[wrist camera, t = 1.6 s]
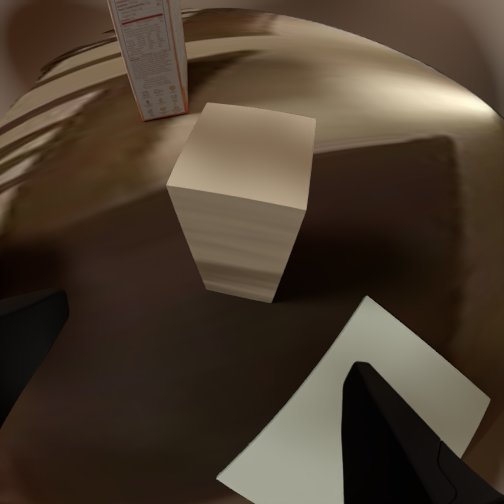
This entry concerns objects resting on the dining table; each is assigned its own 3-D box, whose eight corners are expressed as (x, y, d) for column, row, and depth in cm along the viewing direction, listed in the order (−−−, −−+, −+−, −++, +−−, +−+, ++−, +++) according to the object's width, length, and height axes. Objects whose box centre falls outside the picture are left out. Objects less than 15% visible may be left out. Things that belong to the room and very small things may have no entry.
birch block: (271, 303, 21) (306, 210, 10) (206, 289, 22) (166, 185, 10) (282, 243, 23) (316, 118, 12) (222, 232, 24) (207, 102, 12)
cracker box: (149, 69, 35) (127, -49, 16) (188, 62, 35) (176, -60, 16) (139, 124, 29) (95, -39, 10) (189, 115, 30) (167, -58, 11)
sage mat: (378, 552, 12) (381, 555, 11) (217, 476, 16) (216, 478, 15) (486, 399, 17) (490, 399, 17) (364, 297, 22) (366, 295, 21)
